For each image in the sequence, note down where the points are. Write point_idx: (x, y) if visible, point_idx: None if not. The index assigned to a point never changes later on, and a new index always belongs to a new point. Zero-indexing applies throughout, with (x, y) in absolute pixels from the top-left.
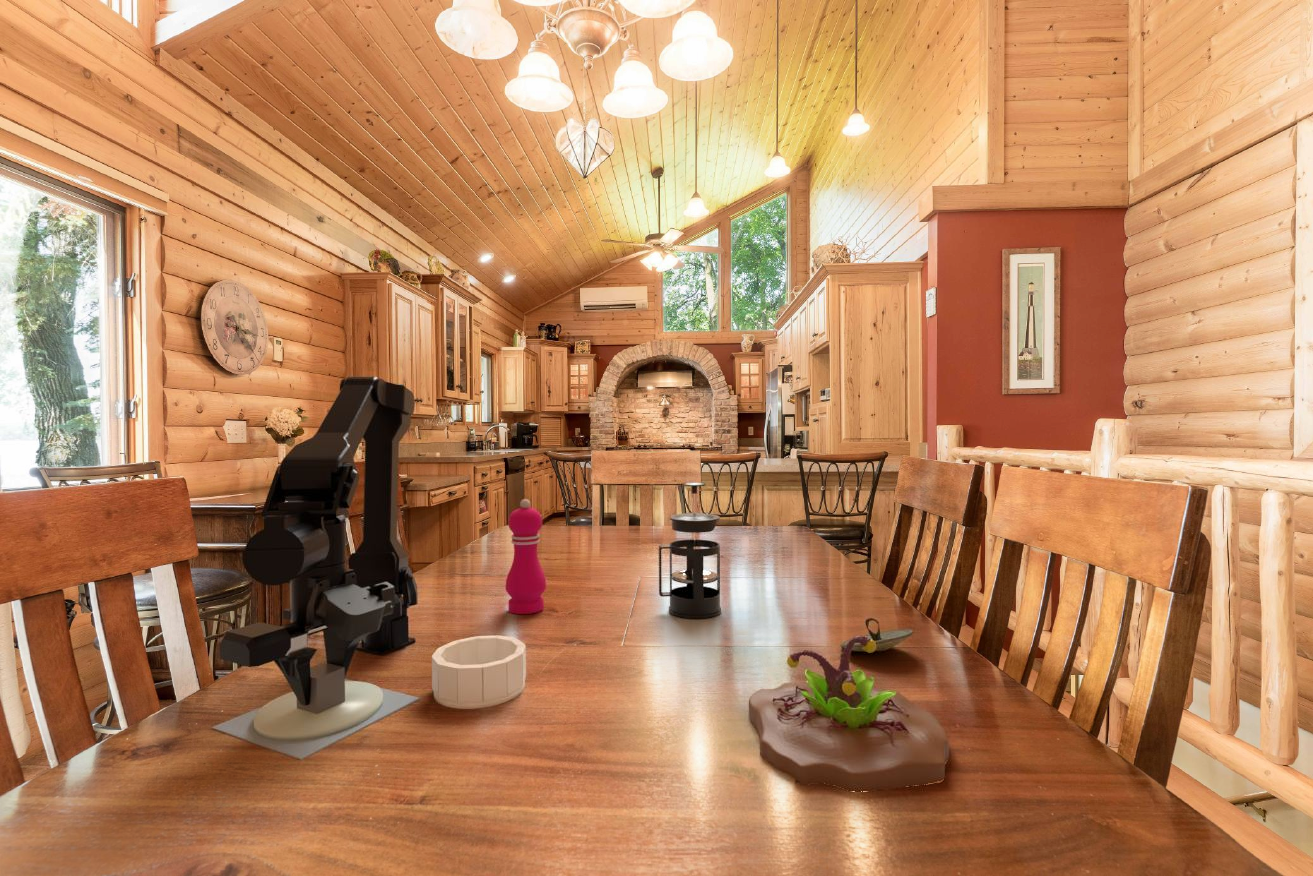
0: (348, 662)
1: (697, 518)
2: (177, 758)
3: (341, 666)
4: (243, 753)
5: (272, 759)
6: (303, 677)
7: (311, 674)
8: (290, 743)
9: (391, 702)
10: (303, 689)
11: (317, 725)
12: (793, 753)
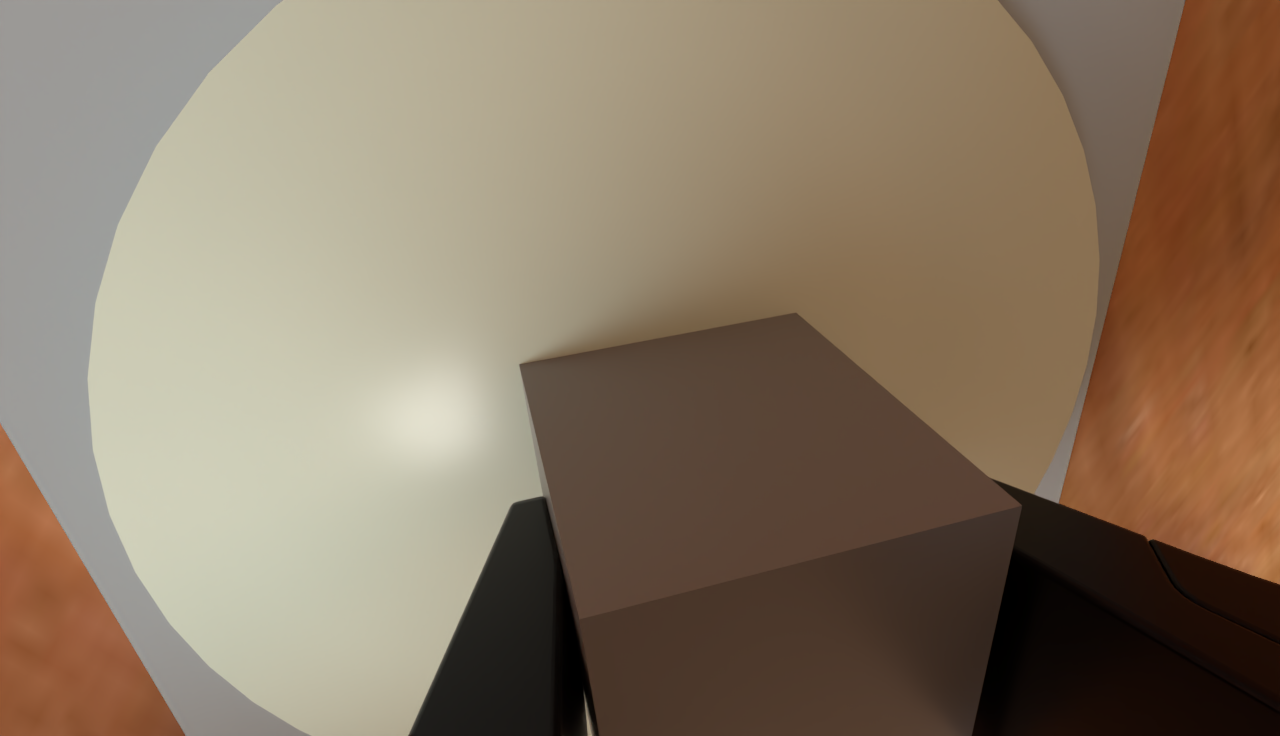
0: (450, 733)
1: None
2: (1223, 486)
3: (560, 694)
4: (1150, 290)
5: (1187, 47)
6: (1176, 567)
7: (943, 662)
8: (1070, 109)
9: (89, 48)
10: (1021, 491)
11: (939, 93)
12: None
